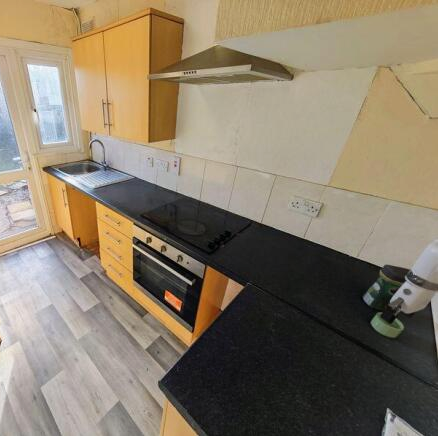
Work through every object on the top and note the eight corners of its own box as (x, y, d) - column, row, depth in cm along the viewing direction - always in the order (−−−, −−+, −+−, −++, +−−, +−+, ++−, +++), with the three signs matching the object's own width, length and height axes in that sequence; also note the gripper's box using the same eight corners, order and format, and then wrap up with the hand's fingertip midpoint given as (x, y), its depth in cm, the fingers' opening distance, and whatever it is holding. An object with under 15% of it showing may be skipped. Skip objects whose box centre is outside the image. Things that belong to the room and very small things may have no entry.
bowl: (378, 319, 85) (385, 310, 83) (401, 335, 79) (409, 327, 77) (365, 322, 83) (371, 314, 81) (387, 340, 77) (395, 331, 75)
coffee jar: (386, 301, 93) (413, 266, 85) (397, 316, 87) (428, 279, 78) (358, 294, 96) (381, 259, 87) (367, 308, 89) (393, 272, 81)
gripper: (422, 294, 65) (390, 332, 73) (458, 283, 69) (425, 320, 77) (391, 276, 71) (365, 313, 79) (426, 267, 76) (398, 303, 84)
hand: (395, 317), depth 78 cm, fingers open, 9 cm apart
